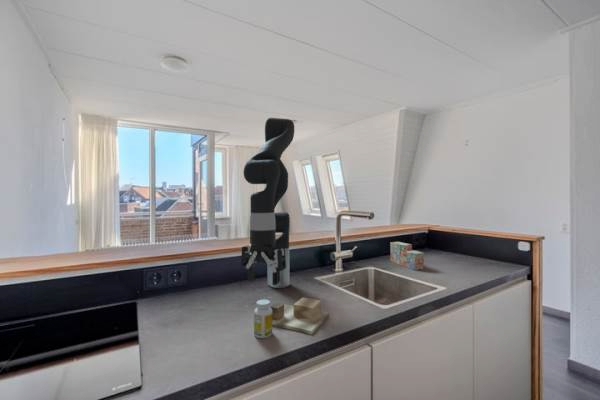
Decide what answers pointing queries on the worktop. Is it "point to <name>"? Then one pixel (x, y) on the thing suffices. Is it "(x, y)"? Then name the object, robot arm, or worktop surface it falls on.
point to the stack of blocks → (406, 255)
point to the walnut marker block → (277, 310)
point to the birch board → (299, 321)
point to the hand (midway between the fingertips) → (263, 282)
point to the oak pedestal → (307, 308)
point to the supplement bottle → (263, 319)
